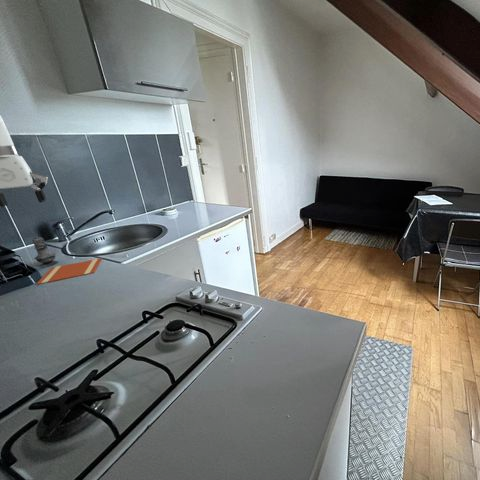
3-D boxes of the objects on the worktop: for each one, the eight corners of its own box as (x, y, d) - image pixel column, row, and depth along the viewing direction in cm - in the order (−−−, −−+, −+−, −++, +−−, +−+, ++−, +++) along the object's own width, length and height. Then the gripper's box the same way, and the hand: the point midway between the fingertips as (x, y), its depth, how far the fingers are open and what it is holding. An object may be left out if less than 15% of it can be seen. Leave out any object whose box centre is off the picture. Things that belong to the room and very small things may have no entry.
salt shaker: (48, 267, 98) (35, 237, 94) (33, 267, 98) (19, 238, 94) (63, 260, 103) (51, 232, 99) (49, 261, 104) (36, 232, 99)
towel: (36, 284, 86) (36, 283, 85) (51, 268, 97) (51, 267, 97) (94, 273, 92) (93, 271, 92) (102, 259, 104) (101, 258, 104)
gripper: (-47, 154, 78) (-18, 209, 84) (31, 151, 86) (52, 202, 92) (-32, 153, 84) (-6, 205, 91) (40, 150, 92) (60, 198, 98)
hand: (24, 203), depth 91 cm, fingers open, 9 cm apart
